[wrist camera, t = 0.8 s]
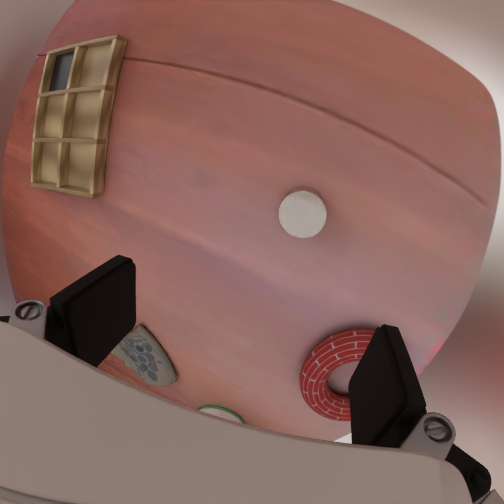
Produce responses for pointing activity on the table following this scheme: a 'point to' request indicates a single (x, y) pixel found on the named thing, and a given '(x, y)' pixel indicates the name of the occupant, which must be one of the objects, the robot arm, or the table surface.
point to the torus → (323, 363)
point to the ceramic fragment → (146, 357)
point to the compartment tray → (75, 116)
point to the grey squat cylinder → (302, 212)
